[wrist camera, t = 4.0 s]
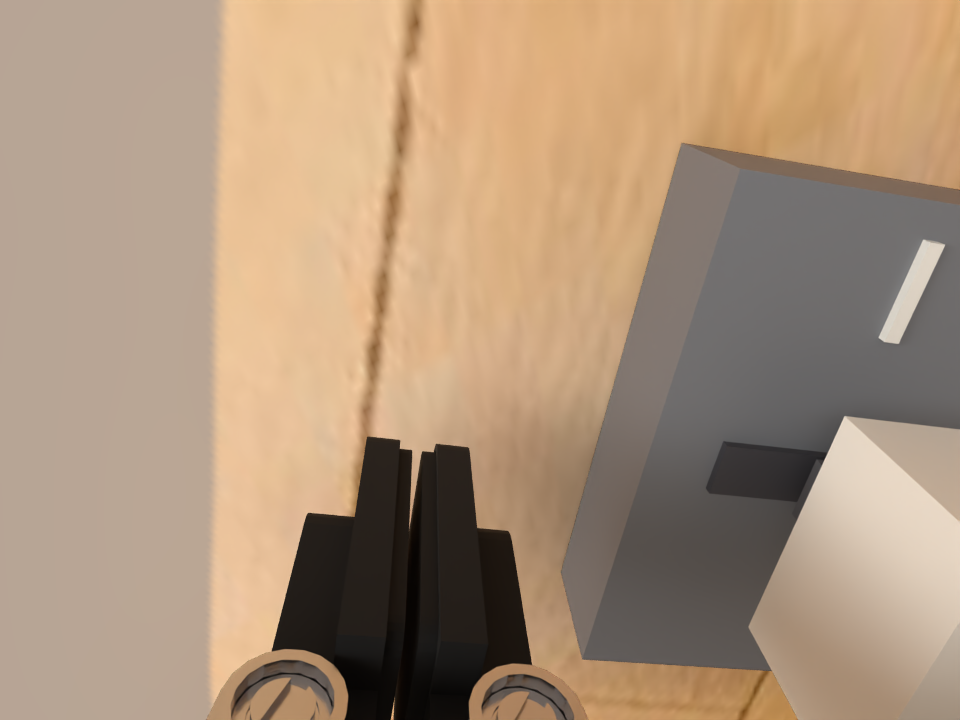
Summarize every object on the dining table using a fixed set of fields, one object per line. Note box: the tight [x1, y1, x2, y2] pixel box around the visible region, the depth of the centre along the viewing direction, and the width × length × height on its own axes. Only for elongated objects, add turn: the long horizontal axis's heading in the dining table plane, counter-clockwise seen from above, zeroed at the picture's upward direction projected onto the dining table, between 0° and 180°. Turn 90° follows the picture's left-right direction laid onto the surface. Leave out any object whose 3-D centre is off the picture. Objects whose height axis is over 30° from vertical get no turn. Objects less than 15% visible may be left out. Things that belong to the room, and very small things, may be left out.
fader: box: [748, 416, 960, 720], centre depth 12 cm, size 5×4×5 cm
